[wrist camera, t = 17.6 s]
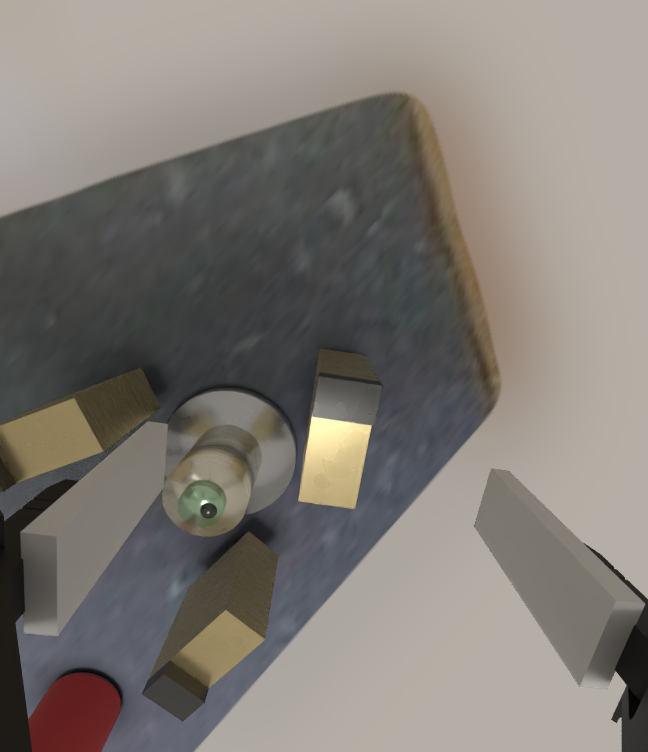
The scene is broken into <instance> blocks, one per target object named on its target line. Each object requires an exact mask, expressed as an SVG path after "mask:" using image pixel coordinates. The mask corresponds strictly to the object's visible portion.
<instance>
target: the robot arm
mask: <svg viewBox="0 0 648 752" xmlns="http://www.w3.org/2000/svg"><path fill="white" fill-rule="evenodd" d="M167 430H168V424H164V423H157V422H149V421H148V422H146V423H145V424H144V425H143V426H142V427H141V428H139V429H138V430H137V431H136V432H135V433H134V434H133V435H131V436H130V437H129V438H128V439H127V440H126V441H125V442H123V443H122V444H121V445H120V446H119V447H118V448H116V449H115V450H114V451H113V452H112V453H111V454H110V455H108V456H107V457H106V458H105V459H104V460H103V461H102V462H100V463H99V464H98V465H97V466H96V467H95V468H93V469H92V470H91V471H90V472H89V473H88V474H87V475H85V476H84V477H83V478H82V479H81V480H80V481H75V480H67V479H66V480H63V481H61V482H59V483H56V484H54V485H52V486H50V487H47V488H46V489H45V490H44V491H42V492H41V493H40V494H39V495H37V496H36V497H35V498H34V500H31V501H30V502H28V503H27V504H26V505H25V506H23V508H22V509H20V510H18V511H17V512H16V513H14V514H13V515H12V516H11V517H9V518H8V519H7V520H6V521H4V515H3V514H2V512H1V511H0V752H32V745H31V738H30V730H29V723H28V715H27V708H26V700H25V693H24V685H23V678H22V670H21V663H20V655H19V647H18V640H17V632H16V625H15V622H16V621H17V620H18V619H19V618H20V616H21V615H22V614H23V624H24V633H28V634H38V635H49V636H58V635H59V634H60V632H61V631H62V629H63V628H64V627H65V625H66V624H67V622H68V621H69V620H70V618H71V617H72V615H73V614H74V613H75V611H76V610H77V608H78V607H79V606H80V604H81V603H82V601H83V600H84V599H85V597H86V596H87V594H88V593H89V591H90V590H91V589H92V587H93V586H94V584H95V583H96V582H97V580H98V579H99V577H100V576H101V575H102V573H103V572H104V570H105V569H106V568H107V566H108V565H109V563H110V562H111V561H112V559H113V558H114V556H115V555H116V553H117V552H118V551H119V549H120V548H121V546H122V545H123V544H124V542H125V541H126V539H127V538H128V537H129V535H130V534H131V532H132V531H133V530H134V528H135V527H136V525H137V524H138V523H139V521H140V520H141V518H142V517H143V515H144V514H145V513H146V511H147V510H148V508H149V507H150V506H151V504H152V503H153V501H154V500H155V499H156V497H157V496H158V494H159V493H160V492H161V490H162V489H163V487H164V475H165V460H166V445H167ZM474 527H475V528H476V530H477V531H478V533H479V534H480V536H481V538H482V539H483V541H484V542H485V544H486V545H487V547H488V548H489V550H490V551H491V553H492V554H493V556H494V557H495V559H496V560H497V562H498V563H499V565H500V566H501V568H502V569H503V571H504V572H505V574H506V575H507V577H508V579H509V580H510V581H511V583H512V585H513V586H514V588H515V589H516V591H517V592H518V594H519V595H520V597H521V598H522V600H523V601H524V603H525V604H526V606H527V607H528V609H529V611H530V612H531V614H532V615H533V617H534V618H535V620H536V621H537V622H538V624H539V626H540V627H541V629H542V630H543V632H544V633H545V635H546V636H547V638H548V639H549V641H550V643H551V644H552V646H553V647H554V648H555V650H556V652H557V653H558V654H559V656H560V658H561V659H562V661H563V662H564V664H565V665H566V667H567V668H568V670H569V671H570V673H571V675H572V676H573V678H574V679H575V680H576V682H577V684H578V685H579V687H586V688H597V689H608V686H609V684H610V682H611V680H612V677H613V675H614V673H615V671H616V672H617V673H618V674H619V676H620V677H621V678H622V679H623V681H624V682H625V683H626V685H627V686H626V688H625V691H624V693H623V695H622V697H621V699H620V701H619V703H618V706H617V708H616V710H615V712H614V714H613V717H612V719H611V720H613V721H614V722H616V723H617V721H618V719H619V718H620V717H622V752H648V599H647V598H646V597H645V596H644V595H643V594H642V593H641V592H640V591H639V590H638V589H636V588H635V587H634V586H633V585H632V584H631V583H630V582H629V581H628V580H625V577H624V576H623V575H622V574H621V573H620V572H619V571H618V570H616V569H614V567H613V566H612V565H611V564H610V563H609V562H608V561H607V560H606V559H605V558H604V557H603V556H602V555H600V554H599V553H598V552H596V551H595V550H593V549H592V548H590V547H589V546H587V545H586V544H584V543H582V542H581V541H580V540H579V539H578V538H577V537H576V536H575V535H574V534H573V533H572V532H571V531H570V530H569V529H568V528H567V527H566V526H565V525H564V524H563V523H562V522H561V521H560V520H559V519H558V518H557V517H556V516H555V515H554V514H553V513H552V512H551V511H550V510H548V509H547V508H546V507H545V506H544V505H543V504H542V503H541V502H540V501H539V500H538V499H537V498H536V497H535V496H534V495H533V494H532V493H531V492H530V491H529V490H528V489H527V488H526V487H525V486H524V485H523V484H522V483H521V482H520V481H519V480H518V479H517V478H516V477H515V476H514V475H512V474H511V473H510V472H509V471H506V470H499V469H491V471H490V474H489V477H488V481H487V484H486V488H485V491H484V494H483V498H482V501H481V505H480V508H479V511H478V515H477V518H476V521H475V525H474Z"/></svg>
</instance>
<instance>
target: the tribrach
mask: <svg viewBox="0 0 648 752" xmlns="http://www.w3.org/2000/svg"><path fill="white" fill-rule="evenodd" d="M167 424H168V430H167V445H166V460H165V475H166V477H167V480H166V481H165V484H164V487H163V490H162V502H163V506H164V509H165V511H166V513H167V515H168V517H169V518H170V519H171V520H172V522H173V523H174V524H175V525H177V526H178V527H179V528H181V529H182V530H184V531H186V532H188V533H190V534H193V535H197V536H204V537H211V536H218V535H221V534H224V533H226V532H228V531H230V530H232V529H233V528H234V527H235V526H237V525H238V523H239V522H240V521H241V520H242V518H243V516H244V515H247V514H251V513H254V512H257V511H260V510H262V509H264V508H266V507H267V506H269V505H270V504H272V503H273V502H274V501H276V500H277V499H278V498H279V497H280V496H281V495H282V494H283V492H284V491H285V490H286V488H287V487H288V485H289V483H290V481H291V479H292V476H293V473H294V468H295V463H296V454H297V447H296V439H295V435H294V432H293V429H292V427H291V425H290V423H289V421H288V419H287V418H286V416H285V415H284V414H283V412H282V411H281V410H280V409H279V408H278V407H277V406H276V405H275V404H274V403H272V402H271V401H270V400H268V399H267V398H265V397H263V396H262V395H260V394H257V393H255V392H253V391H250V390H246V389H242V388H236V387H221V388H214V389H210V390H207V391H204V392H201V393H199V394H197V395H195V396H194V397H192V398H191V399H189V400H188V401H187V402H185V403H184V404H183V405H182V406H181V407H180V408H179V409H178V410H177V411H176V412H175V413H174V414H173V415H172V416H171V418H170V419H169V421H168V423H167ZM238 541H239V540H235V541H233V542H231V543H230V544H229V546H228V548H227V551H228V550H229V549H230V548H232V547H233V546H234V545H235V544H236V543H237V542H238ZM227 551H226V552H227Z"/></svg>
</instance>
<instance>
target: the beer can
mask: <svg viewBox="0 0 648 752" xmlns="http://www.w3.org/2000/svg"><path fill="white" fill-rule="evenodd" d="M120 705H121V700H120V697H119V694H118V691H117V689H116V688H115V687H114V686H113V684H112V683H111V682H110V681H108V680H107V679H105V678H104V677H102V676H99V675H97V674H94V673H87V672H78V673H71V674H69V675H66V676H64V677H62V678H60V679H58V680H57V681H56V682H55V683H54V684H53V685H52V686H51V687H50V688H49V690H48V691H47V693H46V694H45V696H44V697H43V699H42V700H41V702H40V703H39V705H38V706H37V708H36V709H35V711H34V712H33V714H32V715H31V716H30V718H29V719H28V723H29V730H30V738H31V745H32V752H101V751H102V749H103V747H104V745H105V743H106V741H107V738H108V736H109V734H110V732H111V730H112V728H113V726H114V724H115V721H116V719H117V717H118V715H119V713H120Z"/></svg>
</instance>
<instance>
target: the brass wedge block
mask: <svg viewBox="0 0 648 752" xmlns="http://www.w3.org/2000/svg"><path fill="white" fill-rule="evenodd" d="M277 561H278V555H277V554H276V553H275V552H274V551H272V550H271V549H270V548H269V547H267V546H266V545H265V544H264V543H263V542H261V541H260V540H259V539H258V538H256V537H255V536H254V535H253V534H251V533H250V532H247V533H246V534H245V535H244V536H243V537H242V538H241V539H240V540H239V541H238V542H237V543H236V544H235V545H234V546H233V547H232V548H230V549H229V550H228V551H227V552H226V553H225V554H224V555H223V556H222V557H221V558H220V559H219V560H218V561H217V562H216V563H215V564H213V565H212V566H211V567H210V568H209V569H208V570H207V571H206V572H205V573H204V574H203V575H202V576H201V577H200V578H199V579H198V580H196V581H195V582H194V583H193V584H192V585H191V586H190V587H189V588H188V590H187V592H186V595H185V597H184V599H183V601H182V604H181V606H180V608H179V611H178V613H177V615H176V617H175V620H174V622H173V624H172V627H171V629H170V631H169V633H168V636H167V638H166V640H165V643H164V645H163V647H162V649H161V652H160V654H159V656H158V658H157V661H156V663H155V665H154V668H153V670H152V672H151V674H150V677H149V679H148V681H147V684H146V686H145V688H144V690H143V693H142V694H143V695H144V696H146V697H147V698H149V699H150V700H152V701H153V702H155V703H156V704H158V705H159V706H161V707H162V708H164V709H165V710H166V711H168V712H169V713H171V714H172V715H174V716H175V717H177V718H178V719H180V720H181V721H184V720H185V719H186V718H187V717H188V716H190V715H191V714H192V713H193V712H194V711H195V710H197V709H198V708H199V707H200V706H201V705H202V704H204V703H205V700H206V696H207V693H208V689H209V688H210V687H211V686H212V685H213V684H214V683H215V682H217V681H218V680H219V679H220V678H221V677H222V676H223V675H225V674H226V673H227V672H228V671H229V670H230V669H232V668H233V667H234V666H235V665H236V664H237V663H239V662H240V661H241V660H242V659H243V658H244V657H246V656H247V655H248V654H249V653H250V652H251V651H252V650H254V649H255V648H256V647H257V646H258V645H259V644H261V643H262V642H263V641H264V640H265V637H266V630H267V624H268V618H269V612H270V605H271V599H272V593H273V586H274V580H275V574H276V567H277Z"/></svg>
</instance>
